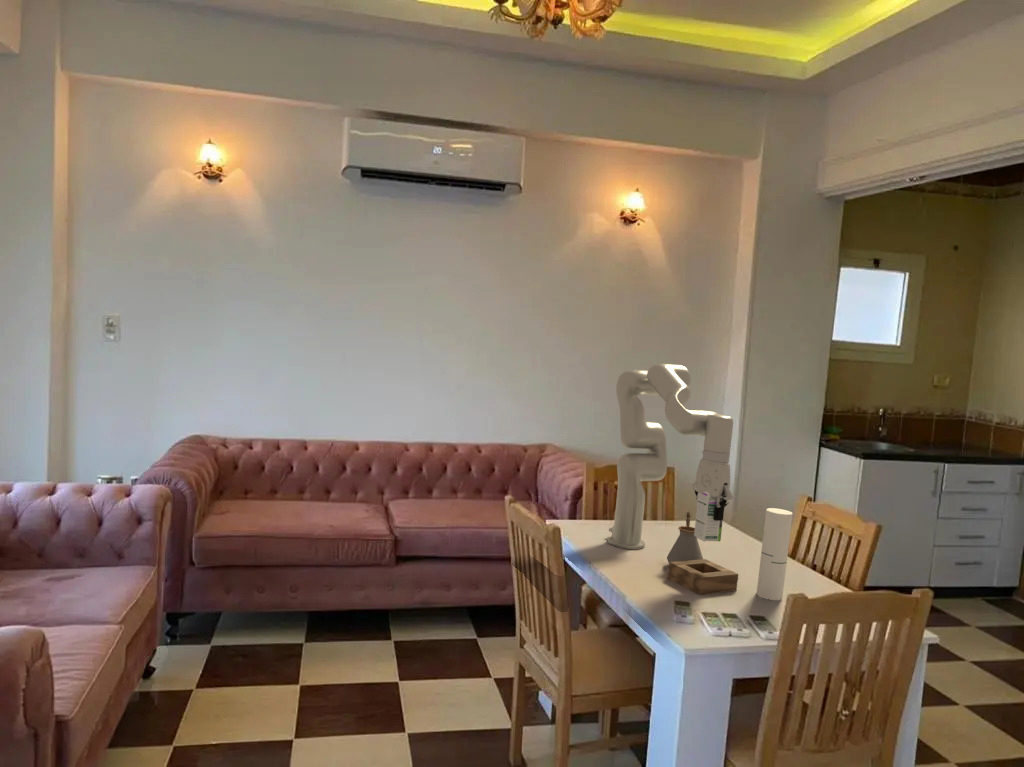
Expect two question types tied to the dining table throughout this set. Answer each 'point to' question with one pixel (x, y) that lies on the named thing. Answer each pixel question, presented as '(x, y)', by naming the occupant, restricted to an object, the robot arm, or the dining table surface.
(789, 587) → the dining table surface
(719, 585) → the mount block
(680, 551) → the coffee pot
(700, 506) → the syrup box
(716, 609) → the dining table surface
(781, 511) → the cylindrical container
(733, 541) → the dining table surface
